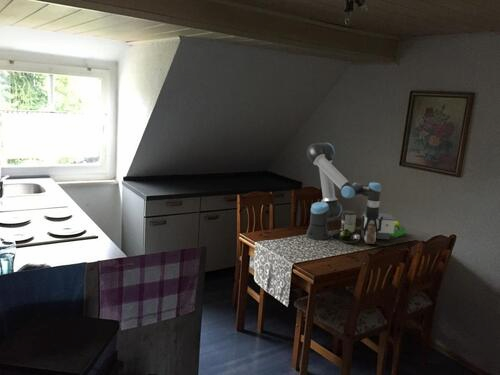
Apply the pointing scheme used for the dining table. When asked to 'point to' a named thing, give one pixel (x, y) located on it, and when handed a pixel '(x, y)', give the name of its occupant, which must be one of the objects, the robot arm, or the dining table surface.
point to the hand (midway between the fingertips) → (369, 240)
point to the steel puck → (356, 236)
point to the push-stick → (370, 234)
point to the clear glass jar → (348, 220)
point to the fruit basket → (398, 230)
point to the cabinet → (383, 225)
